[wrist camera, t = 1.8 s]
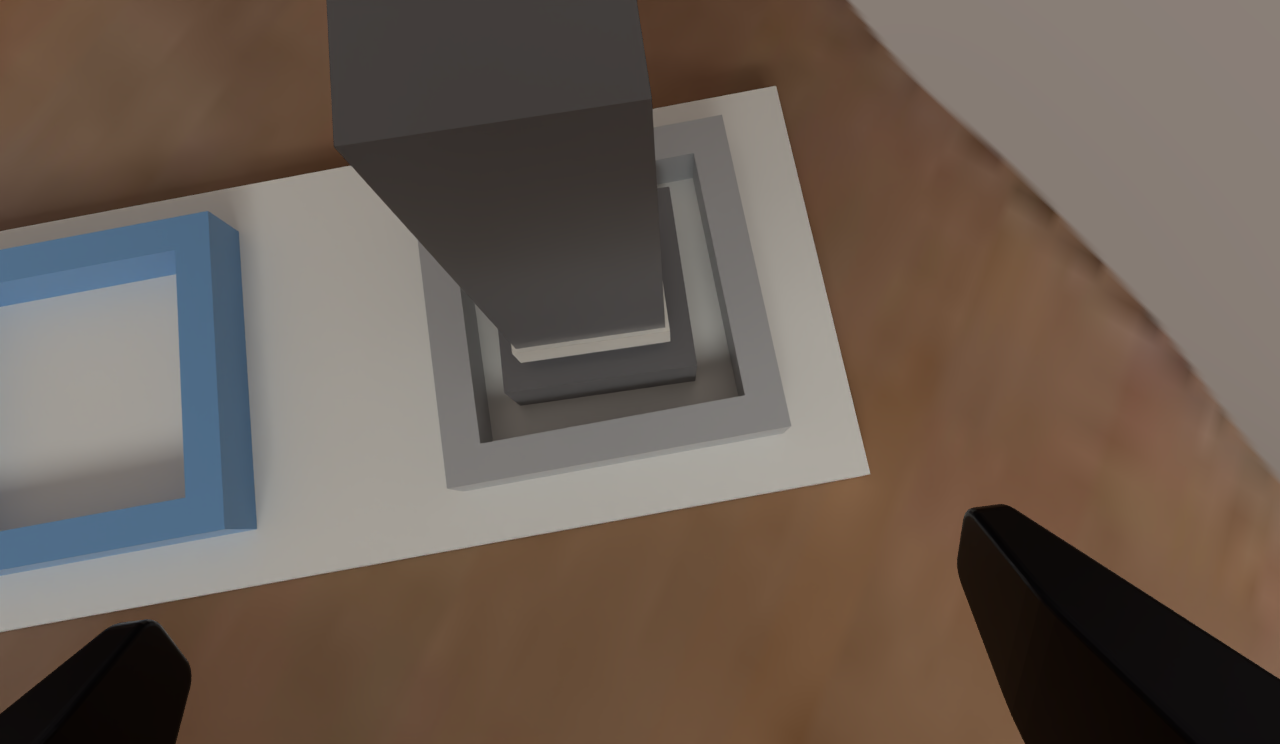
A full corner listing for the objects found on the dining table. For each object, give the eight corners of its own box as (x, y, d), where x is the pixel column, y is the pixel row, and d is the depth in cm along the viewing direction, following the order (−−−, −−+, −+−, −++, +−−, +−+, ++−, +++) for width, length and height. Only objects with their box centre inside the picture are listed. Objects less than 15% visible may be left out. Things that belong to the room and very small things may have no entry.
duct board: (771, 104, 23) (782, 54, 21) (861, 476, 21) (885, 469, 18) (-80, 263, 24) (-167, 233, 21) (-95, 649, 21) (-196, 665, 19)
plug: (695, 380, 21) (724, 146, 8) (520, 405, 21) (274, 213, 8) (669, 217, 22) (659, -220, 9) (503, 241, 22) (263, -157, 9)
